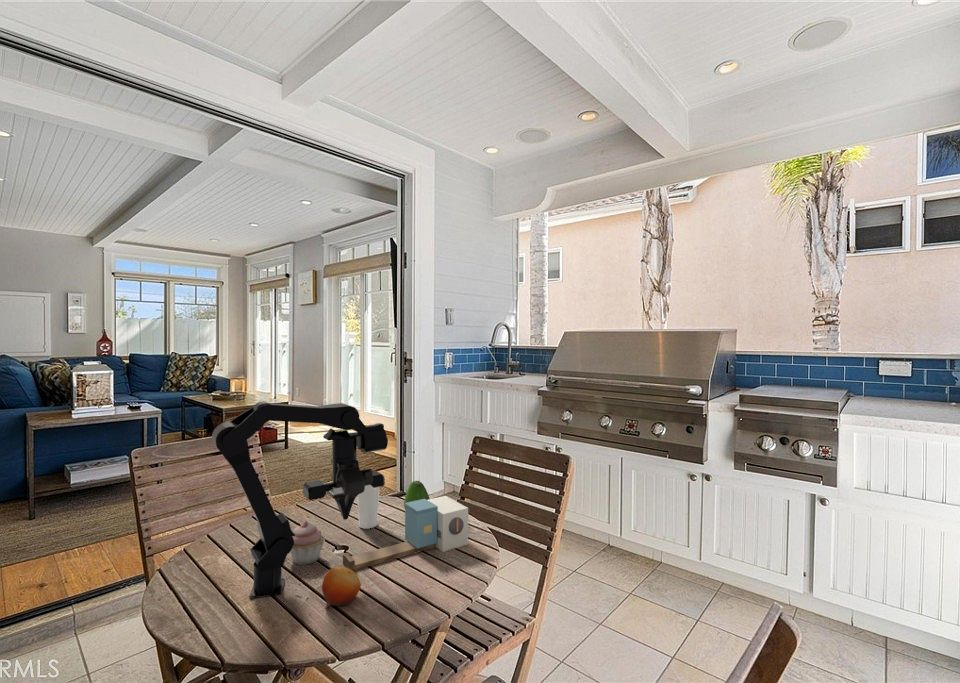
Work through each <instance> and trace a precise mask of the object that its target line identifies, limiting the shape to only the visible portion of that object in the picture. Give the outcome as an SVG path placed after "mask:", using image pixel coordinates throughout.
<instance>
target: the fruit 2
mask: <svg viewBox="0 0 960 683" xmlns="http://www.w3.org/2000/svg"><path fill="white" fill-rule="evenodd" d="M429 495H430V494H429V493H428V491H427V488H426V487H425V485H424V483H422V482H421V481H420V480H413V481H411V483H410V484H409V486H408V488H407V491H406V494H405V498H404V500H403V506H404V507H403V508H404V509H405V503H408V502H412V501H417V500H421V499H426V500H429V499H431V498H430V496H429Z"/></svg>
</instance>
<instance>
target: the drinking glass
mask: <svg viewBox="0 0 960 683" xmlns="http://www.w3.org/2000/svg"><path fill="white" fill-rule="evenodd" d="M380 489H381V488H380V487H376V488H373V487H372V486H371V485H367V486H365V489H364V492H362V493H361V494H359V495H358V496H357V497H356V501H357V502H356V503H357V511H358V512H357V514H358V515H357V516H358V526H359V528H361V529H362V528H363V530H368V529H370V528H371V529H373V528H375V527H376V526H377V525H378V513H379V512H378V511H379V510H378V509H379V500H380Z"/></svg>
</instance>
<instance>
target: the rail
mask: <svg viewBox="0 0 960 683" xmlns="http://www.w3.org/2000/svg"><path fill="white" fill-rule="evenodd" d="M434 548H437V547H436V543H435V544H432V545H428V546H425V547H421V548H418V549H417V548H416V547H414V546H413V545H412V544H410V543H409V542H408V541H407V540H406V541H404V542H401V543H397V544H391V545H389V546H385V547H381V548H377V549H373V550H371V551H367V552H363V553H359V554H355V555H352V556H351V555H350V554H349V553H348V552H345V553H342V564H343V566H344V567H345V568H348V569H351V570H352V571H357V570H360V569H364V568H367V567H371V566H374V565H377V564H378V565H379V564H381V563H385V562H389V561H392V560H395V559H398V557H399V558H402V556H403V557H405V555H406V556H409V554H410V555H413V554H416V553H415V552H417V553H419V552H418V551H420V552H423V551H422V550H424V551H426V550H427V551H428V550H430V549H434ZM412 553H413V554H412ZM388 560H389V561H388Z"/></svg>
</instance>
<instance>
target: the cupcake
mask: <svg viewBox="0 0 960 683" xmlns="http://www.w3.org/2000/svg"><path fill="white" fill-rule="evenodd" d="M292 531H293V532H294V533H295V536H292V537H293V539H294V545H293V547H292V550H291V551H290V552H289V553H290V555H291V560H292V562H293V563H294V564H295V565H300V566H301V565H302V566H305V565H309V564H313V563H315V562H317V561H318V560H319V559H320V556H321V552H322V547H323V545H324V543H325V541H326V539H325V536H324V535H323V534H322V531H321V529H320V528H319V527H318V526H317V525H316V524H315V523H314V522H312V521H307V520H305V521H303V522H302V523H301V525H298V526H296V527H295V528H294V529H293V530H292Z"/></svg>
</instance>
